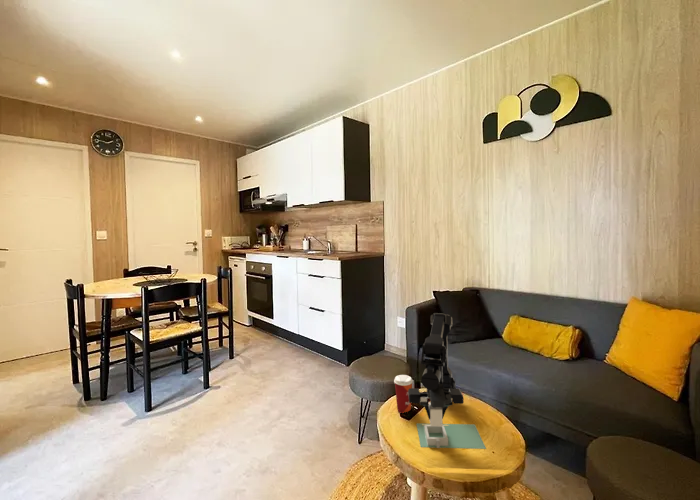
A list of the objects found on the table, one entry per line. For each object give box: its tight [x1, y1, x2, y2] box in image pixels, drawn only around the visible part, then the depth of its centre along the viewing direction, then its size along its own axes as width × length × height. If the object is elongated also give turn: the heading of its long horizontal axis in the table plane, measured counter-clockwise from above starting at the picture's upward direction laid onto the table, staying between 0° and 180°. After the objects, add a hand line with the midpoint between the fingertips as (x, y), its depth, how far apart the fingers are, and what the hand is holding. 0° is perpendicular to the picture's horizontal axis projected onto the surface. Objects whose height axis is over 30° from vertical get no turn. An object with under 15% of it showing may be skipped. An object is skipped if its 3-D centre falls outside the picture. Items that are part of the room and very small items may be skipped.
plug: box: [428, 401, 444, 426], centre depth 119 cm, size 5×4×7 cm
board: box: [416, 422, 487, 450], centre depth 121 cm, size 14×22×4 cm, turn 85°
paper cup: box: [393, 374, 413, 414], centre depth 140 cm, size 8×8×14 cm
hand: (435, 418), depth 119 cm, fingers closed on plug, 4 cm apart
